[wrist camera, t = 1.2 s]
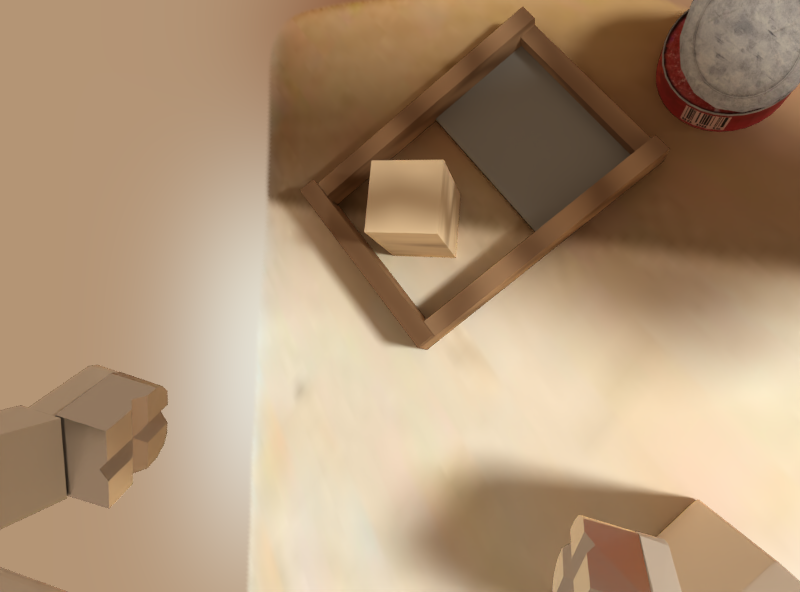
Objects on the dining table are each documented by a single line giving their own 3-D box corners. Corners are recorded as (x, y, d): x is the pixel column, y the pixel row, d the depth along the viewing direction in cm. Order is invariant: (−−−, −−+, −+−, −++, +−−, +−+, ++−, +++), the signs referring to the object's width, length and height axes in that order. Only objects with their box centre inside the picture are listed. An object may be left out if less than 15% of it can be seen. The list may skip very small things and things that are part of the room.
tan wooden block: (398, 194, 50) (371, 160, 42) (460, 195, 48) (443, 159, 41) (393, 255, 49) (364, 232, 42) (455, 257, 48) (437, 233, 40)
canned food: (751, 56, 49) (871, -23, 39) (735, 162, 47) (858, 106, 37) (638, 5, 46) (736, -91, 37) (616, 114, 44) (714, 42, 35)
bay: (524, 24, 49) (522, -2, 46) (663, 161, 45) (672, 143, 41) (316, 203, 52) (299, 190, 48) (426, 349, 47) (417, 347, 44)
